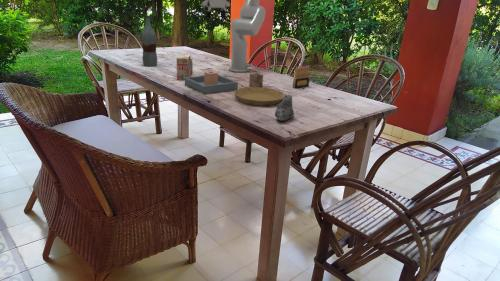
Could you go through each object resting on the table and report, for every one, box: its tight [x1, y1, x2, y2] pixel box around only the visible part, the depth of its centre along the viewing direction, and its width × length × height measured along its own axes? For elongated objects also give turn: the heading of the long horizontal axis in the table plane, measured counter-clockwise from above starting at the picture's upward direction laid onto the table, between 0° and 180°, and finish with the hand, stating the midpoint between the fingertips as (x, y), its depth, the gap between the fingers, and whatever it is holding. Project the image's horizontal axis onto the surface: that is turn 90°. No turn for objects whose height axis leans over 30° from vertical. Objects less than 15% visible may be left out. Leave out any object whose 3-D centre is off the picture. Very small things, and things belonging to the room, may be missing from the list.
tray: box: [184, 74, 239, 95], centre depth 193 cm, size 20×20×4 cm
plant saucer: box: [233, 86, 285, 106], centre depth 178 cm, size 24×24×3 cm
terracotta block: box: [203, 70, 219, 86], centre depth 192 cm, size 5×5×7 cm
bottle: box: [140, 15, 158, 68], centre depth 230 cm, size 9×9×30 cm
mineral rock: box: [274, 93, 295, 121], centre depth 153 cm, size 13×11×10 cm
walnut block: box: [248, 72, 264, 88], centre depth 198 cm, size 5×5×7 cm
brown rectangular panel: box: [292, 64, 310, 89], centre depth 202 cm, size 11×2×12 cm, turn 127°
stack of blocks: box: [176, 53, 194, 81], centre depth 212 cm, size 21×6×12 cm, turn 2°
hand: (216, 19), depth 202 cm, fingers open, 9 cm apart
